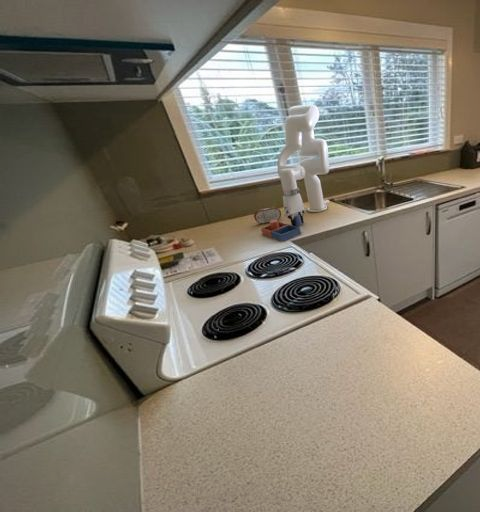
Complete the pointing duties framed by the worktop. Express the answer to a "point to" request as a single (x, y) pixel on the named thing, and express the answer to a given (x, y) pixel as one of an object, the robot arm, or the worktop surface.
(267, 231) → the terracotta bin
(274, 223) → the reddish round cylinder
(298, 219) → the small blue cylinder
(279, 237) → the blue bin
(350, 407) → the worktop surface
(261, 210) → the tin
